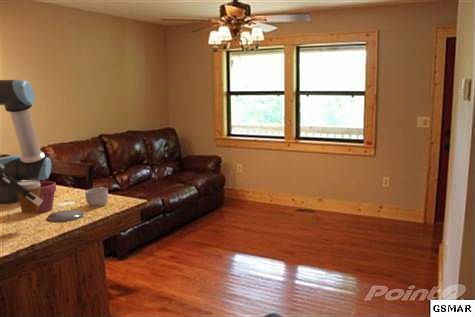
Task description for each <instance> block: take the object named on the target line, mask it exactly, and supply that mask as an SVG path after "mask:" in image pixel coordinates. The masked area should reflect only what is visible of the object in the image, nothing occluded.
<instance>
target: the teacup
mask: <svg viewBox="0 0 475 317" xmlns="http://www.w3.org/2000/svg"><path fill="white" fill-rule="evenodd" d="M84 195H85V200H86V203H87V205H89V206H90V207H93V208H98V207H102V206H104V205H106V204H107V202H108V201H109V193H108V188H107V187H103V186H100V187H95V188H90V189H87V190H84Z"/></svg>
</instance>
